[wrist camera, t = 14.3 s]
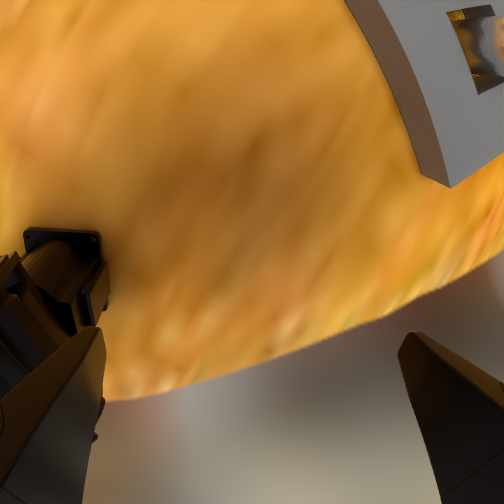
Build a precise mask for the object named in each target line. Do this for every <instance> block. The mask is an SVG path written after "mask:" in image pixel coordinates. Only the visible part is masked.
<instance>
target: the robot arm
mask: <svg viewBox="0 0 504 504" xmlns="http://www.w3.org/2000/svg"><path fill="white" fill-rule="evenodd" d="M28 233H29V234H30V235H31V237H30V236H29V235H28ZM91 237H94V238H95V239H96V241H93V240H92V238H91ZM23 238H24V244H25V249H26V252H25V254H24V255H23V256H22V257H21V258H20V257H19V255H18V253H17V252H16V251H14V252H12V253H11V254H9V255H7V254H6V255H4V256H0V504H82V499H83V491H84V485H85V479H86V472H87V467H88V461H89V455H90V450H91V444H92V443H93V442H94V441H95V440H97V438H98V435H97V434H96V433H95V432H94V430H95V426H96V424H97V422H98V420H99V419H100V417H101V415H102V412H103V409H104V406H105V398H104V397H103V396H102V394H103V376H104V369H105V362H106V347H105V342H104V338H103V333H102V330H101V328H99V327H95V326H96V325H97V322H98V320H99V317H100V315H101V312H102V311H106V310H107V308H108V296H109V293H110V288H109V280H108V271H107V263H106V262H105V261H104V260H103V254H102V243H101V236H100V234H99V233H98V232H96V231H84V230H66V229H48V228H27V229H26V230H25V231H24V233H23ZM397 356H398V360H399V364H400V367H401V371H402V374H403V378H404V382H405V386H406V389H407V393H408V396H409V399H410V402H411V405H412V408H413V410H414V413H415V416H416V419H417V422H418V425H419V427H420V431H421V434H422V436H423V439H424V443H425V446H426V449H427V452H428V455H429V459H430V462H431V465H432V469H433V472H434V475H435V479H436V483H437V486H438V490H439V493H440V496H441V497H440V498H441V502H442V504H504V384H503V383H502V382H499V380H497V379H495V378H494V377H493V376H491V375H489V374H488V373H486V372H485V371H483V370H481V369H480V368H478V367H477V366H475V365H474V364H472V363H470V362H469V361H467V360H466V359H464V358H463V357H461V356H459V355H458V354H456V353H454V352H453V351H451V350H450V349H448V348H446V347H445V346H443V345H442V344H440V343H438V342H437V341H435V340H434V339H432V338H430V337H429V336H427V335H425V334H424V333H422V332H420V331H411V332H409V333H407V335H406V336H405V338H404V340H403V342H402V344H401V346H400V348H399V350H398V354H397Z"/></svg>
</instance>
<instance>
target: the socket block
mask: <svg viewBox="0 0 504 504" xmlns="http://www.w3.org/2000/svg"><path fill="white" fill-rule="evenodd" d="M344 1H345V2H346V4H347V5H348V7H349V9H350V10H351V12H352V14H353V15H354V17H355V19H356V21H357V22H358V24H359V26H360V28H361V29H362V31H363V33H364V35H365V37H366V39H367V40H368V42H369V44H370V46H371V48H372V50H373V52H374V54H375V56H376V58H377V60H378V62H379V64H380V66H381V68H382V70H383V72H384V75H385V77H386V79H387V81H388V83H389V86H390V88H391V90H392V93H393V95H394V97H395V100H396V102H397V105H398V107H399V110H400V112H401V115H402V117H403V120H404V123H405V125H406V128H407V131H408V133H409V136H410V139H411V142H412V145H413V148H414V151H415V154H416V157H417V160H418V163H419V167H420V170H421V173H422V175H424V176H426V177H428V178H430V179H432V180H435V181H437V182H439V183H441V184H443V185H445V186H447V187H449V188H452V187H454V186H455V185H457V184H458V183H460V182H461V181H463V180H464V179H466V178H467V177H469V176H470V175H472V174H473V173H474V172H476V171H477V170H479V169H480V168H482V167H483V166H485V165H486V164H488V163H489V162H490V161H492V160H493V159H495V158H496V157H498V156H499V155H500V154H502V153H503V152H504V77H501V76H491V75H482V76H480V77H478V78H475V79H473V78H472V75H471V72H470V69H469V66H468V63H467V61H466V58H465V55H464V53H463V50H462V48H461V45H460V43H459V40H458V38H457V36H456V33H455V31H454V29H453V26H452V24H451V22H450V20H449V18H448V16H447V14H446V12H450V11H454V10H459V9H462V10H463V12H464V14H465V17H466V19H469V18H478V17H488V16H502V15H504V0H344Z"/></svg>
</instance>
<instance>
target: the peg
mask: <svg viewBox="0 0 504 504" xmlns="http://www.w3.org/2000/svg"><path fill="white" fill-rule="evenodd" d="M450 22H451V24H452V26H453V29H454V31H455V33H456V36H457V38H458V40H459V43H460V45H461V48H462V50H463V53H464V55H465V58H466V61H467V63H468V66H469V69H470V72H471V74H480V75H491V76H501V77H504V15H502V16H488V17H478V18H469V19H461V20H454V21H450Z"/></svg>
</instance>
